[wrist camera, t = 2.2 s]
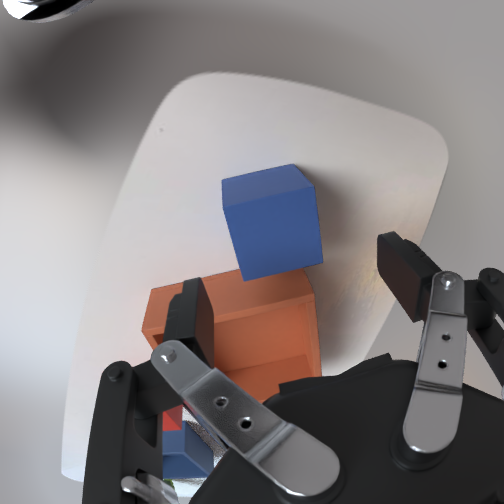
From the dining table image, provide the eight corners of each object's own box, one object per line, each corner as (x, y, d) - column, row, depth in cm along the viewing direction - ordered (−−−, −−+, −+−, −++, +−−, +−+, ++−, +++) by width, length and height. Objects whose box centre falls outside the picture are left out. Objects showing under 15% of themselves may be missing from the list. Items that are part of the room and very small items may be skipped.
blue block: (221, 179, 19) (222, 207, 15) (293, 163, 18) (314, 186, 15) (238, 242, 21) (243, 282, 17) (303, 227, 21) (323, 262, 17)
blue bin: (110, 424, 33) (105, 452, 29) (185, 420, 32) (184, 451, 29) (147, 455, 38) (146, 478, 35) (213, 451, 38) (214, 476, 34)
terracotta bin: (151, 289, 22) (140, 330, 18) (297, 255, 22) (314, 293, 18) (197, 376, 28) (197, 414, 24) (310, 352, 28) (322, 389, 24)
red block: (125, 373, 27) (118, 410, 23) (166, 368, 27) (162, 408, 23) (145, 397, 29) (141, 432, 25) (183, 393, 29) (182, 430, 25)
